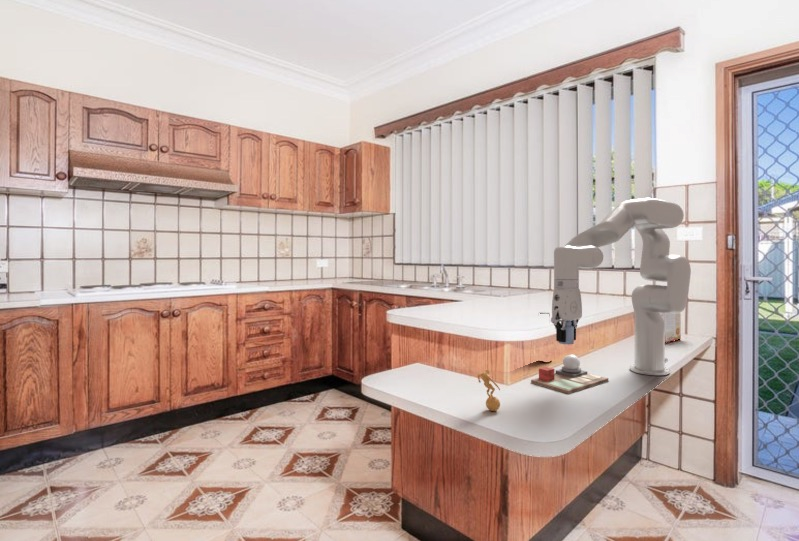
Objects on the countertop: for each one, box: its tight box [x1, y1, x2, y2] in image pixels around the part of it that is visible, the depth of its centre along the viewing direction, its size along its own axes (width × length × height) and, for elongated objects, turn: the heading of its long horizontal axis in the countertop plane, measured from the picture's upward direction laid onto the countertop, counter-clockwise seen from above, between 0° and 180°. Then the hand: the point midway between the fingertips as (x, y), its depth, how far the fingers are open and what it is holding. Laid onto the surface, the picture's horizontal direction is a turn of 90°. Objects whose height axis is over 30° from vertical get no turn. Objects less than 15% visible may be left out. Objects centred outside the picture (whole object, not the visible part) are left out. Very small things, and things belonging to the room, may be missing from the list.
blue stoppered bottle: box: [558, 319, 575, 345], centre depth 140 cm, size 5×5×8 cm
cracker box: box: [660, 312, 682, 343], centre depth 207 cm, size 14×6×21 cm, turn 119°
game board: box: [530, 366, 609, 395], centre depth 146 cm, size 22×14×5 cm, turn 124°
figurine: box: [477, 369, 501, 412], centre depth 121 cm, size 8×6×12 cm
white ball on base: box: [561, 354, 582, 373], centre depth 152 cm, size 6×6×6 cm
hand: (566, 340), depth 140 cm, fingers closed on blue stoppered bottle, 4 cm apart
